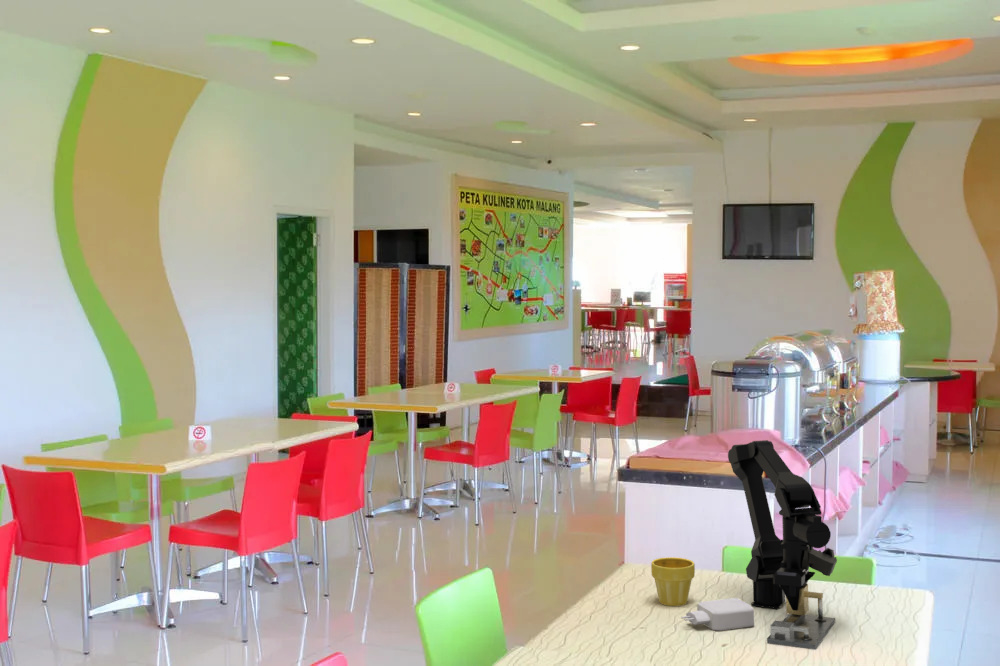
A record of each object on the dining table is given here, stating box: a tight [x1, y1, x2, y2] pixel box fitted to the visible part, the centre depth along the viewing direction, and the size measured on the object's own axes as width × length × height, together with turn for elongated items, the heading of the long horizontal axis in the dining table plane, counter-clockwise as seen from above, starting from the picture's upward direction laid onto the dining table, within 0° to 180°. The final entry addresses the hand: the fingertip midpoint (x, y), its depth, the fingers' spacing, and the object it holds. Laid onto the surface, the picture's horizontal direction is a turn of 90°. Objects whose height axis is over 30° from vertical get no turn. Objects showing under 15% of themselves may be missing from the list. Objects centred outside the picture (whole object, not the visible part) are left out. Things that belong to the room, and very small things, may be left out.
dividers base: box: [766, 614, 836, 650], centre depth 229 cm, size 10×20×4 cm, turn 151°
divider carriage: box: [785, 583, 824, 620], centre depth 236 cm, size 8×4×7 cm, turn 61°
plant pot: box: [650, 556, 696, 607], centre depth 255 cm, size 10×10×10 cm
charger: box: [680, 597, 755, 632], centre depth 237 cm, size 5×9×15 cm
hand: (797, 607), depth 237 cm, fingers closed on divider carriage, 4 cm apart
